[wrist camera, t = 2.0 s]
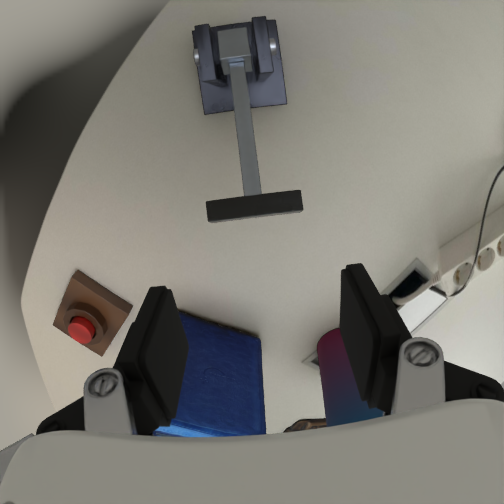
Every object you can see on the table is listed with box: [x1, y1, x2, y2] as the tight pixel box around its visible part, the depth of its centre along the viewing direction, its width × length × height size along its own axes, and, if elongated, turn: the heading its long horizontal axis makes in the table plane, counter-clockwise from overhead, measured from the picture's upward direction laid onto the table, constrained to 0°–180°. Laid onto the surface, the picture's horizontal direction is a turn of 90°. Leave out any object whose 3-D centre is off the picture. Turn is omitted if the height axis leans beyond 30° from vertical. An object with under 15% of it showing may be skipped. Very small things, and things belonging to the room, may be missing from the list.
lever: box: [206, 27, 303, 223], centre depth 21 cm, size 14×6×2 cm, turn 8°
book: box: [155, 311, 266, 437], centre depth 39 cm, size 14×5×20 cm, turn 68°
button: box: [68, 316, 95, 344], centre depth 42 cm, size 4×4×2 cm
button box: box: [53, 270, 133, 356], centre depth 45 cm, size 12×10×4 cm
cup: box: [317, 328, 383, 427], centre depth 40 cm, size 10×10×22 cm
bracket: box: [192, 16, 287, 115], centre depth 25 cm, size 10×9×14 cm
